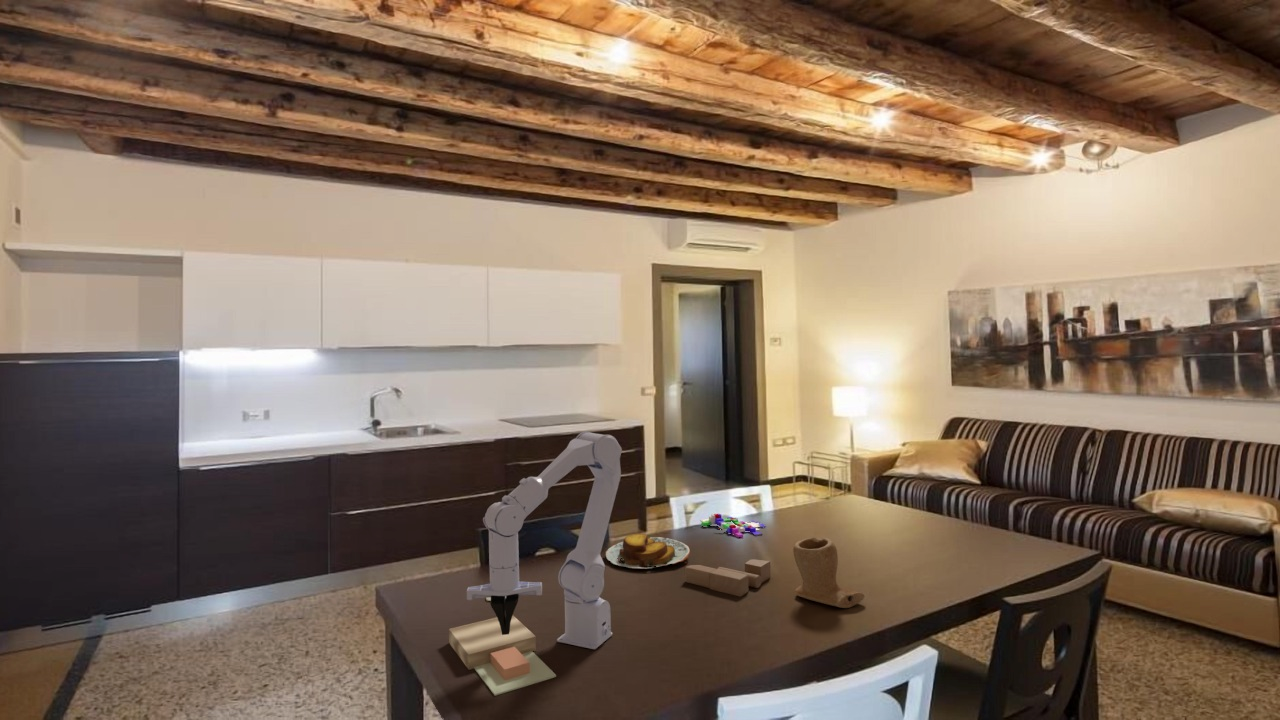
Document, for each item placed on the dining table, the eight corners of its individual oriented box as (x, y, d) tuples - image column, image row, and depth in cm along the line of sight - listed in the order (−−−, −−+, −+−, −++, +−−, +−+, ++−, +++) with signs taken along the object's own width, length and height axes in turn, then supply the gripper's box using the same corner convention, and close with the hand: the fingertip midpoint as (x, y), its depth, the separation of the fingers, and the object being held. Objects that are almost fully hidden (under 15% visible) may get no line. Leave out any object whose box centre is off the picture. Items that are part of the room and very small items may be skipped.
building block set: (779, 534, 213) (779, 521, 213) (726, 542, 206) (726, 528, 206) (742, 517, 236) (741, 505, 236) (693, 523, 229) (692, 511, 229)
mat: (474, 668, 123) (474, 667, 122) (531, 652, 129) (531, 650, 129) (494, 695, 112) (494, 694, 112) (556, 676, 119) (556, 675, 119)
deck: (449, 642, 134) (448, 628, 134) (511, 627, 141) (511, 613, 141) (468, 669, 122) (468, 654, 122) (536, 650, 129) (535, 636, 129)
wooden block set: (742, 576, 156) (683, 563, 167) (743, 599, 156) (683, 584, 167) (773, 558, 170) (716, 547, 181) (774, 579, 170) (717, 566, 181)
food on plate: (706, 564, 183) (705, 541, 183) (630, 579, 171) (630, 555, 171) (661, 542, 206) (661, 522, 206) (592, 554, 194) (592, 533, 194)
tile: (490, 663, 124) (490, 653, 124) (514, 656, 127) (514, 646, 127) (504, 680, 117) (504, 669, 117) (529, 672, 120) (529, 662, 120)
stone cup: (783, 599, 155) (782, 538, 155) (812, 587, 162) (811, 529, 162) (838, 617, 143) (837, 552, 143) (866, 604, 151) (864, 541, 151)
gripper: (541, 555, 129) (543, 621, 129) (469, 560, 128) (471, 626, 128) (540, 566, 122) (542, 636, 122) (464, 571, 121) (466, 642, 121)
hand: (505, 632), depth 125 cm, fingers closed
